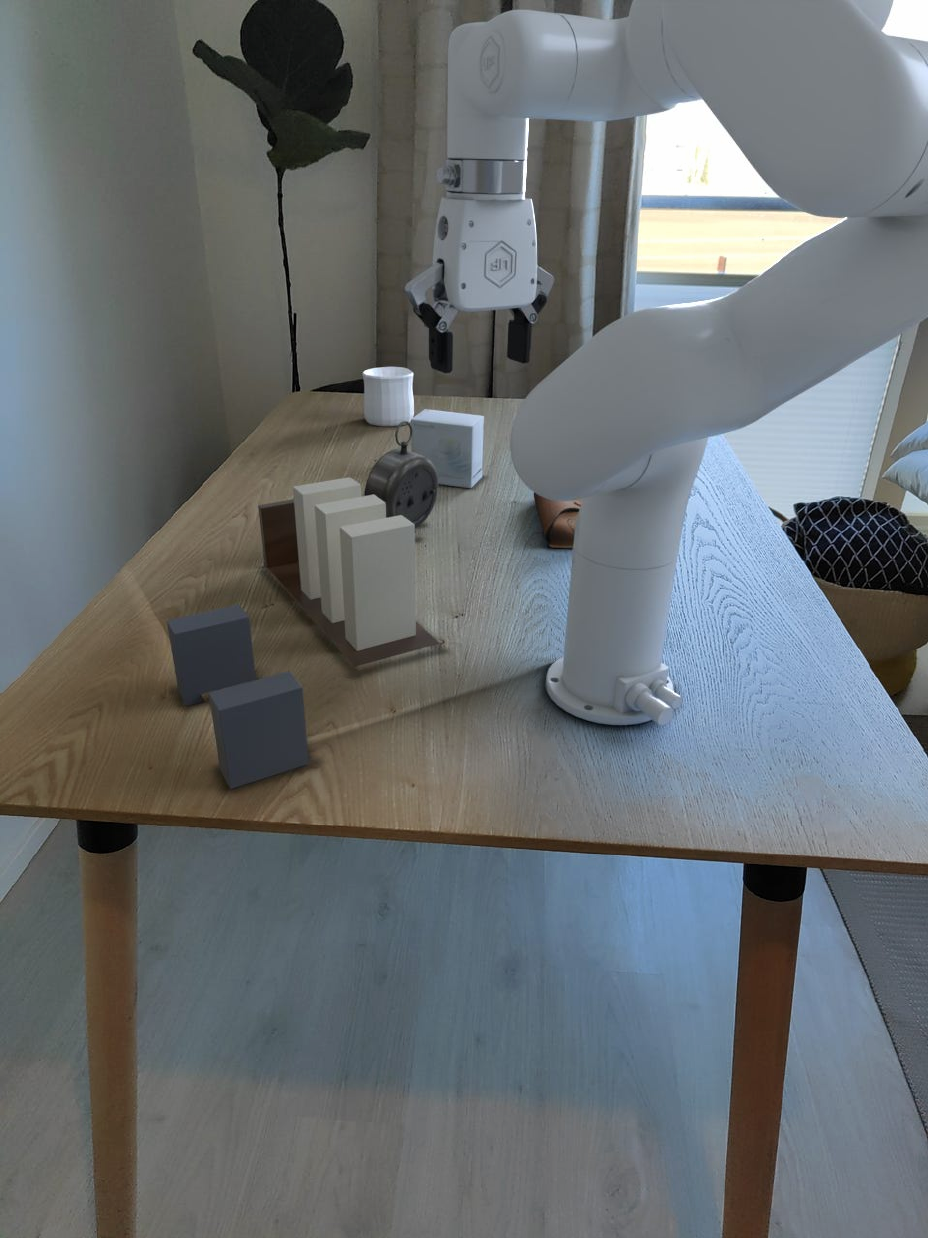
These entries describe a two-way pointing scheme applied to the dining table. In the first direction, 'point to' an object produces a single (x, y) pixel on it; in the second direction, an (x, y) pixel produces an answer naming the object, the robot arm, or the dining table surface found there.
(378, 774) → the dining table surface
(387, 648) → the book rack
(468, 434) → the cosmetics box
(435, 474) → the alarm clock
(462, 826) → the dining table surface
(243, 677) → the grey book
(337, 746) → the dining table surface
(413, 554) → the cream book
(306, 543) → the cream book
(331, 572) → the cream book
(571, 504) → the sunglasses case
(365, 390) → the cup
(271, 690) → the grey book
